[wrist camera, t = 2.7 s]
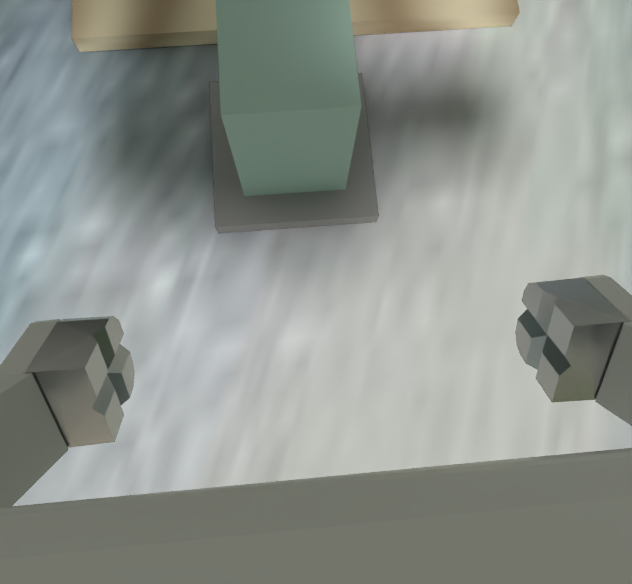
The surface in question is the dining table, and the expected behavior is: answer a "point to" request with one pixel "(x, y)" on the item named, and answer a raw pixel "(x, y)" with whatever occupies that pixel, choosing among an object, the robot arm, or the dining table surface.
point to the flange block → (289, 118)
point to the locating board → (201, 26)
